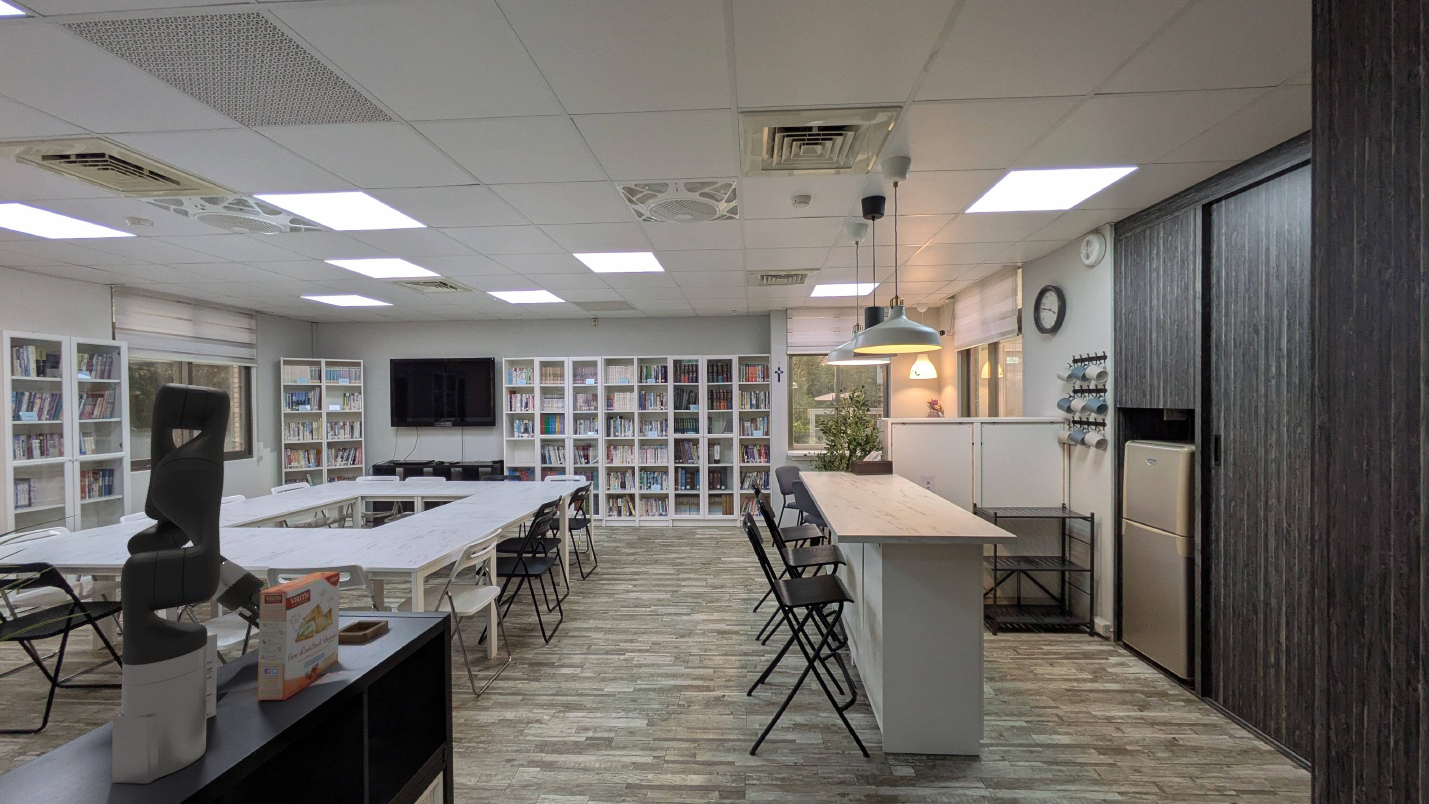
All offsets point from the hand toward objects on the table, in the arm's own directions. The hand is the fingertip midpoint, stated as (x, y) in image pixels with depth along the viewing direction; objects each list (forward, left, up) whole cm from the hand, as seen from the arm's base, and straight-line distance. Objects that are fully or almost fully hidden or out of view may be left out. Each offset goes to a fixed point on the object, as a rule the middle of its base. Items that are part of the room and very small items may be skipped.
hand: (294, 627), depth 121 cm
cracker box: (-13, -15, -6) cm, 21 cm away
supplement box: (-28, -4, -6) cm, 29 cm away
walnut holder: (+7, -11, -6) cm, 14 cm away
